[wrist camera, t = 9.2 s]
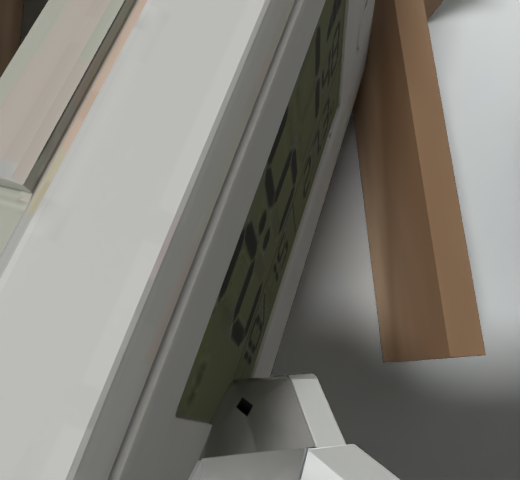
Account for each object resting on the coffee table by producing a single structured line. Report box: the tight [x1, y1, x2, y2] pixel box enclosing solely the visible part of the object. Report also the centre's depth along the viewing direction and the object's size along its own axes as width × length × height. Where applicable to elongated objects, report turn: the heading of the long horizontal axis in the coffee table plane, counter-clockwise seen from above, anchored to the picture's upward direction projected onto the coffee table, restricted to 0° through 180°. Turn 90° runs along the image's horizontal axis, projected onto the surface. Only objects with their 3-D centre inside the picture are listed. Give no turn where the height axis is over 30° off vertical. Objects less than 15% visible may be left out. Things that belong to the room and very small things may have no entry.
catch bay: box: [0, 0, 486, 363], centre depth 14 cm, size 18×14×5 cm
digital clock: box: [0, 0, 375, 480], centre depth 10 cm, size 16×9×11 cm, turn 150°
